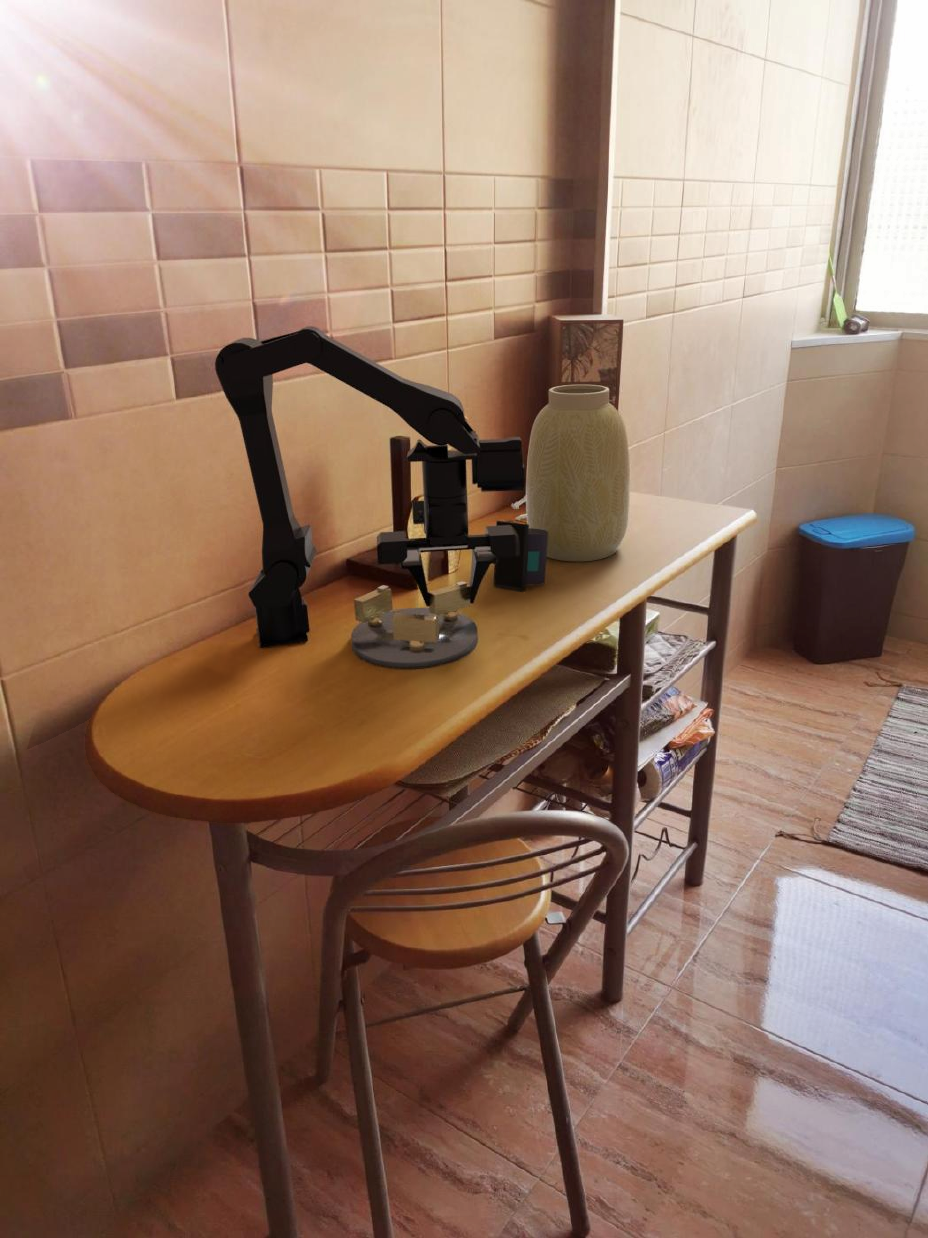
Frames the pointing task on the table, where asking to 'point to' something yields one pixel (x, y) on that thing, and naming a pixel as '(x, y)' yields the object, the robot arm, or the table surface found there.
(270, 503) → the robot arm
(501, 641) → the table surface
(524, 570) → the speaker
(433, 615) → the knob front
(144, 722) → the table surface
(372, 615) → the knob left
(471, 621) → the plate
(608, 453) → the vase
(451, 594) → the knob right
